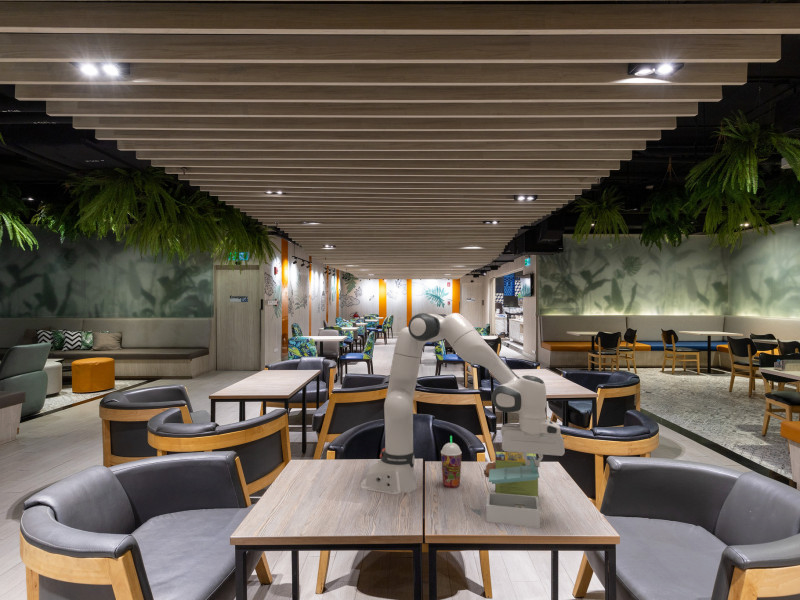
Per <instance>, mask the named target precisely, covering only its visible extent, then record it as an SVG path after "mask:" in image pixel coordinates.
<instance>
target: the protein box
mask: <svg viewBox="0 0 800 600" xmlns="http://www.w3.org/2000/svg"><path fill="white" fill-rule="evenodd" d="M494 453H495V454H494V455H495V459H494V462H495V469H500V468H505V467H506V468H510V467H520V465H521V466H526V461H525V459H524V458H523V456H522V453H518V452H505V451H495V452H494ZM530 456H533V459H534V464H535V460H538V458H537V454H531V453H527V456H526V458H527V459H528V460H530ZM530 465H531V463H530ZM494 490H495V491H494V493H502V494H513V495H525V496H537V497H538V498H539V478H537V480H530V481H519V482H509V483H498V484H494Z"/></svg>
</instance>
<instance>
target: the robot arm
mask: <svg viewBox="0 0 800 600" xmlns="http://www.w3.org/2000/svg"><path fill="white" fill-rule="evenodd" d="M445 340H446V341H447V343H448V344H449V345H450V347H451V349H453V351H454V352H455V353H456V354H457V356H458V357H459V358H461V359H462V360H463V361H464V362H466V363H470V364H475V365H478V366H481V367H483V368H485V369H487V370H488V371H489V372H490V373H491V374H492V375H493V376H494V378H495V379H496V381H498V382H499V383H500V385H498V386H496V387H495V388H494V390H493V391H492V393H491V400H492V404H493V406H494V407H495V408H496V409H497V410H498V411H499V412H501V413H515V412H517V413H518V423H508V422H506V423H505V424H502V425H501V427H500V434H501V436H502V440H501V441H502V442H501V450H502V451H503V452H510V453H522V456H523V458H524V459H525V461H526V466H530V460H528V459H527V458H526V456H527V453H529V454H536V455H538V458H537V460H535V467H538V468H540V463H541V461H542V460H543V459H544V455H545V456H547V455H548V456H557V457H559V456H561V457H562V456H564V455H565V452H566V451H565V450H566V449H565V442H564V438H563V436H562V433H561V432H562V431H561V426H560V424H559V423H558V422H555V421H553V420H550V419H547V413H546V408H547V388H546V384H545V382H544V380H543V379H541V378H540V377H538V376H534V375H529V374H528V375H522V376H521V377H520V376H518V375H517V374H516V373H515V372H514V371H513V370H512V368H511V367H509V365H508V364H507V363H506V362H505V361H504V360H503V359H502V357H501V356H499V354H498V353H497V352H496V351H495V350H494V349H493V348H492V347H491V346H490V345H489V344H488V343H487V342H486V341H485V339H484V338H483V337H482V335H481V334H480V333H479V332H478V331H477V329H476V328H475V327H474V326H473V324H471V322H470V321H469V320H468V319H467V318H466V317H464V316H463V315H462V314H460V313H458V312H453V313H449V314H448V315H446V316H444V315H440V314H438V313H437V314H436V313H424V312H422V313H417V314H415V315H413V316H412V317H411V318H410V320H409V321H408V326H405V327H403V328H402V329H401V330H400V331H399V334H398V335H397V338H396V342H395V344H394V345H395V346H394V350H393V355H392V361H391V366H390V372H389V380H388V386H387V391H386V397H385V400H384V404H383V409H384V431H385V432H384V433H385V436H384V437H385V438H384V440H385V442H384V444H385V445H384V446H385V447H383V448H382V449H381V451H380V455H379V458H380V459H379V460H378V461H377V462H375V463H374V464H373V465H372V466H370V468H369V469H368V470H367V473H366V478H365V477H364V479H363V480H362V481H361V482H360V488H361V489H363V490H368V491H374V492H377V493H378V492H379V493H383V494H389V495H395V496H396V495H399V494H404V493H409V492H412V491H415V490H416V489H417V488H418V483H417V479H416V475H415V468H414V466H415V462H416V461H415V460H416V459H415V450H414V423H413V422H414V421H413V420H414V409H413V407H414V406H413V405H414V398H415V396H414V395H415V390H416V386H417V382H418V376H419V370H420V365H421V359H422V354H423V347H424V346H425V345H426V344H427V343H430V344H431V343H440V342H443V341H445Z"/></svg>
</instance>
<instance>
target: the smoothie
mask: <svg viewBox="0 0 800 600" xmlns="http://www.w3.org/2000/svg"><path fill="white" fill-rule="evenodd" d="M449 438H450V439H449V441H450V442H447V443H445V444H444V445H443V447H442V449H441V450H440V456H441V471H442V472H441V474H442V476H441V477H442V484H443V486H445V487H446V488H449V489H450V488H451V489H452V488H453V489H454V488H457V487H459V486H460V484H461V469H462V453H463V452H462V450H461V448H460V446H459V445H458V444H457V443H455V442H453V436H452V435H450V436H449Z"/></svg>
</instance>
